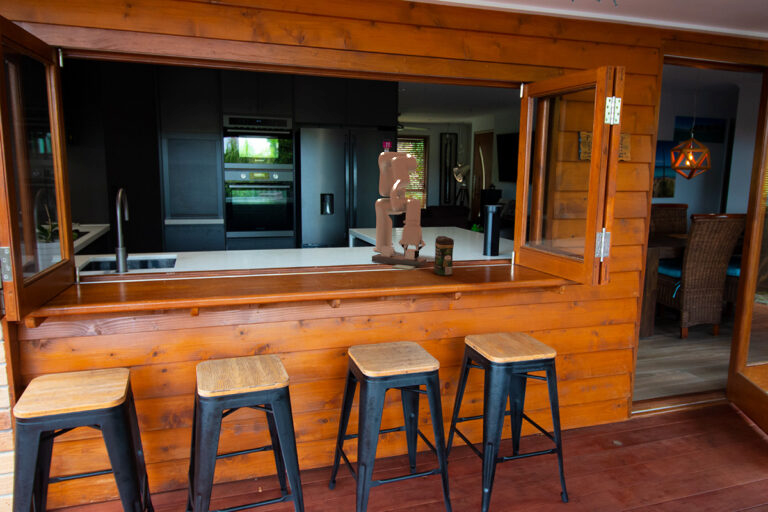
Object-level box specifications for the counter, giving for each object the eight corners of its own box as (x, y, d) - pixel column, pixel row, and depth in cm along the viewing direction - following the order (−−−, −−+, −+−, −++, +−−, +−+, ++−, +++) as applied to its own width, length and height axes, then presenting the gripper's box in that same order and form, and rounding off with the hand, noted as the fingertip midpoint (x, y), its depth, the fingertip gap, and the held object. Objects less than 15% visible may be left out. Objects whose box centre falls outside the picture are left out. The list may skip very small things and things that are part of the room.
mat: (397, 265, 272) (397, 264, 272) (415, 267, 268) (415, 266, 268) (391, 267, 266) (392, 266, 266) (410, 270, 262) (410, 269, 262)
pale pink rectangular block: (408, 263, 280) (409, 248, 279) (417, 264, 278) (418, 249, 277) (404, 264, 275) (405, 249, 274) (413, 265, 273) (414, 250, 272)
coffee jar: (431, 272, 259) (433, 235, 256) (446, 271, 262) (447, 234, 258) (439, 276, 250) (441, 238, 247) (454, 275, 252) (456, 237, 249)
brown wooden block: (384, 260, 286) (385, 246, 284) (393, 261, 284) (393, 247, 282) (380, 262, 281) (381, 247, 280) (389, 263, 279) (390, 248, 278)
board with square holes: (378, 259, 289) (379, 253, 289) (426, 264, 278) (426, 258, 277) (371, 261, 281) (371, 256, 281) (420, 267, 270) (420, 261, 269)
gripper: (394, 222, 273) (393, 256, 276) (425, 225, 266) (424, 260, 269) (400, 221, 280) (399, 254, 283) (430, 223, 273) (429, 258, 276)
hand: (411, 257), depth 276 cm, fingers closed on pale pink rectangular block, 5 cm apart
